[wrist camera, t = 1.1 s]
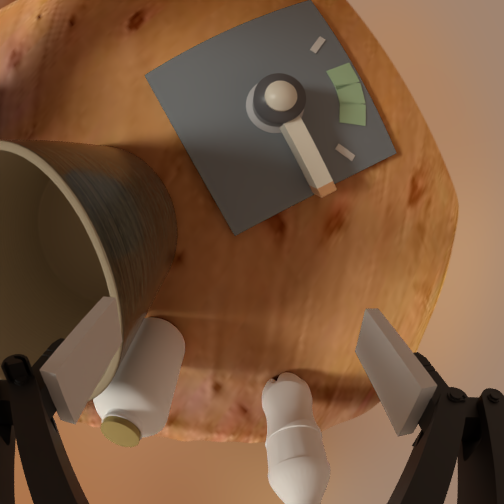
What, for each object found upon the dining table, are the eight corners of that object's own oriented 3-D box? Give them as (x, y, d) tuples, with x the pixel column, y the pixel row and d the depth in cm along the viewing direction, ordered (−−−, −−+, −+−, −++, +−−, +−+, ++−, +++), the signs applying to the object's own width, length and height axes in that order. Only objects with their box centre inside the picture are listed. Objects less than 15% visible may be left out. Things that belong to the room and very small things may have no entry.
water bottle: (256, 372, 43) (266, 528, 19) (304, 362, 43) (344, 514, 19) (265, 404, 45) (278, 545, 21) (310, 395, 45) (344, 533, 21)
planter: (93, 330, 40) (27, 422, 21) (14, 206, 34) (-87, 244, 15) (216, 259, 38) (191, 360, 18) (123, 107, 32) (18, 72, 12)
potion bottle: (170, 306, 39) (129, 401, 22) (196, 355, 42) (176, 456, 25) (120, 322, 40) (65, 409, 23) (147, 367, 42) (112, 459, 25)
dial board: (147, 77, 31) (143, 74, 29) (308, 3, 28) (310, -1, 27) (235, 233, 37) (234, 236, 35) (392, 153, 34) (397, 153, 33)
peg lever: (244, 95, 31) (244, 84, 25) (284, 77, 30) (291, 63, 25) (300, 199, 34) (310, 207, 29) (338, 179, 34) (354, 184, 28)
